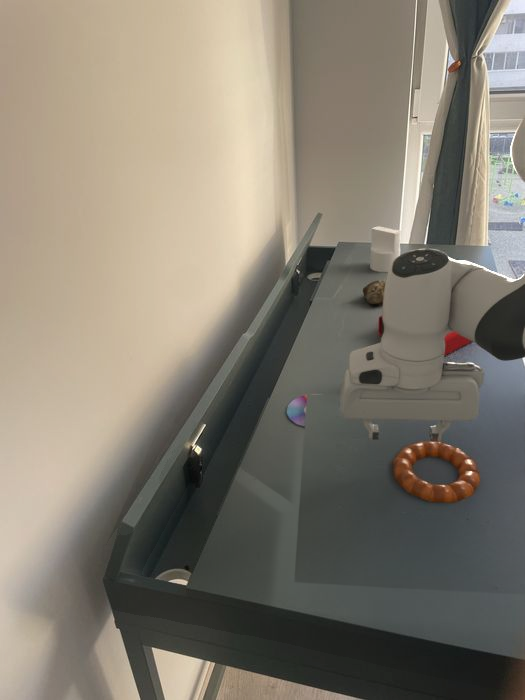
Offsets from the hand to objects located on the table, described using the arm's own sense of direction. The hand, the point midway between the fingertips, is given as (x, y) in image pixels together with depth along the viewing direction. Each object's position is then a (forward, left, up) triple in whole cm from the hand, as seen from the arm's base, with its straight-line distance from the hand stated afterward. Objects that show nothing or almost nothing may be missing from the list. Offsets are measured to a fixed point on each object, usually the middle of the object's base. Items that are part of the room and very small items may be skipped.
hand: (403, 438), depth 83 cm
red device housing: (-11, -48, -9) cm, 50 cm away
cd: (+15, -18, -8) cm, 25 cm away
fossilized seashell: (-1, -69, -9) cm, 69 cm away
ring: (-5, 0, -7) cm, 9 cm away
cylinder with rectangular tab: (-5, -94, -9) cm, 95 cm away
